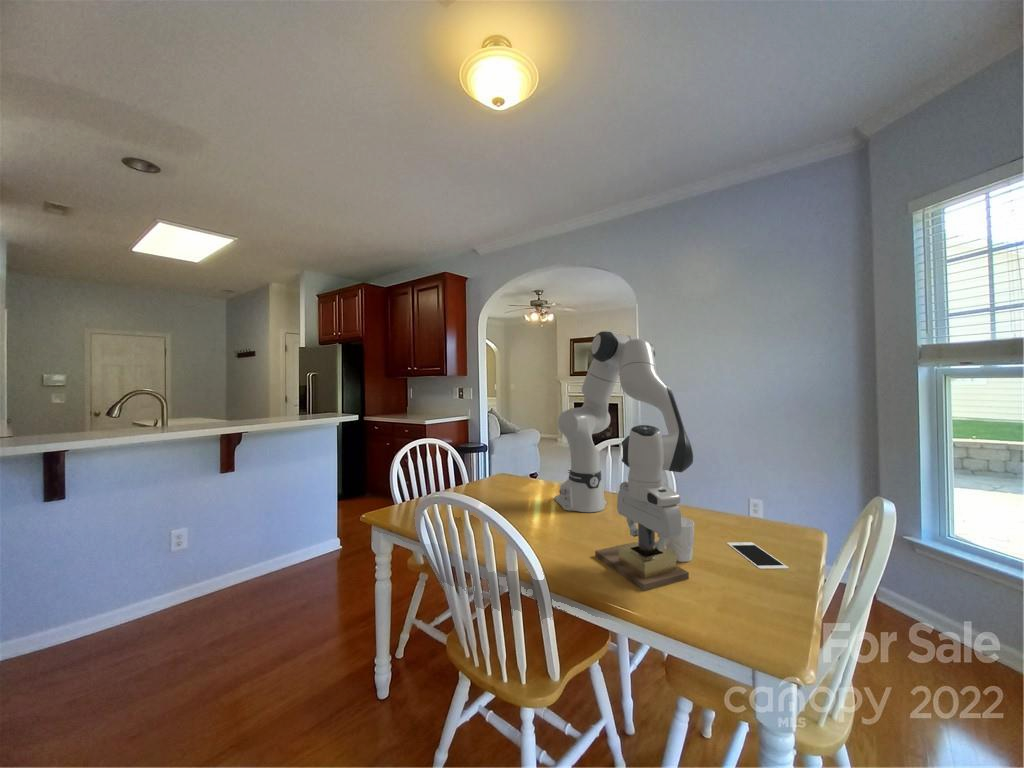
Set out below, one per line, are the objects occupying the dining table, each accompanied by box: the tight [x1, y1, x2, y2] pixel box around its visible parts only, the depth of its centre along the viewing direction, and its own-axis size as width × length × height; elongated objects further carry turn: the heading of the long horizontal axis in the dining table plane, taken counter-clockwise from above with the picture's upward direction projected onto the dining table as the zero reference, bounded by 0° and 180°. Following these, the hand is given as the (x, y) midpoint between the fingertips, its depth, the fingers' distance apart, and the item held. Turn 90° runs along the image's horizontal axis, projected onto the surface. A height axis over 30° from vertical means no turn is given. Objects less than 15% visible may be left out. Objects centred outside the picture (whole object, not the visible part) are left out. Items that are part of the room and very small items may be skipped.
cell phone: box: [726, 541, 790, 570], centre depth 110 cm, size 8×16×1 cm, turn 0°
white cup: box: [665, 516, 695, 563], centre depth 110 cm, size 8×8×10 cm
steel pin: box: [637, 523, 656, 558], centre depth 102 cm, size 4×4×11 cm
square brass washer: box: [618, 541, 677, 579], centre depth 102 cm, size 10×10×4 cm
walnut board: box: [594, 541, 690, 592], centre depth 105 cm, size 20×14×2 cm
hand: (646, 542), depth 102 cm, fingers open, 8 cm apart
